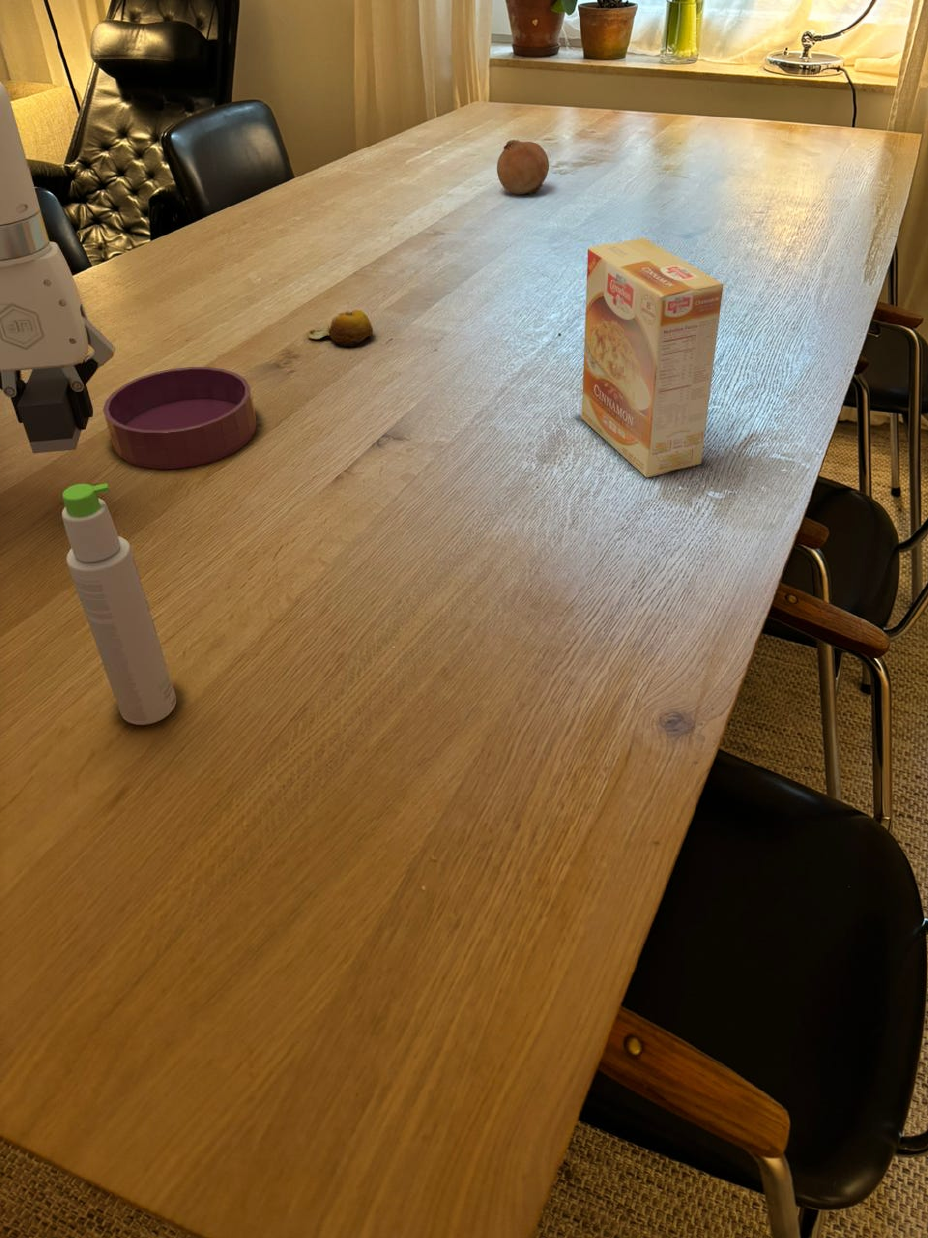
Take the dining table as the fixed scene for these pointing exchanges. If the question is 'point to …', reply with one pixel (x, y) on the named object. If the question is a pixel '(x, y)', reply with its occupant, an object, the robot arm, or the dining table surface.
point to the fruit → (346, 329)
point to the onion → (522, 167)
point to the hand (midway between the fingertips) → (58, 423)
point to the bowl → (181, 417)
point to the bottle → (116, 607)
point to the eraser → (48, 412)
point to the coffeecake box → (649, 353)
